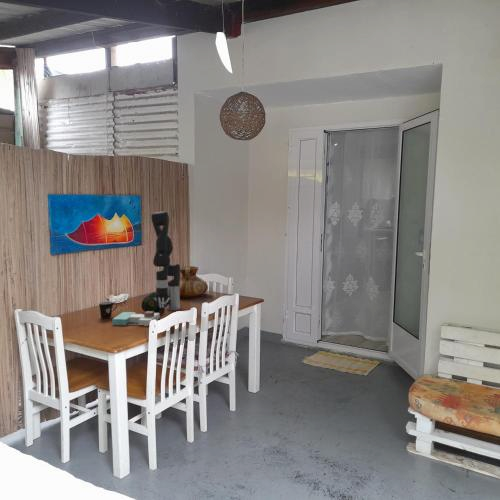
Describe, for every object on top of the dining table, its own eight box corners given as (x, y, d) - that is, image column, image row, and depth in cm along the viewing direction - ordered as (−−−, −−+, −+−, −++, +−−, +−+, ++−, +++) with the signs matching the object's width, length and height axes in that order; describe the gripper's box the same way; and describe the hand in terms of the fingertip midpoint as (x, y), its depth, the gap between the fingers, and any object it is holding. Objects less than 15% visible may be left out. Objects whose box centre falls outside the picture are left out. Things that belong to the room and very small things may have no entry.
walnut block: (146, 314, 295) (146, 311, 294) (154, 315, 294) (154, 311, 294) (144, 316, 290) (144, 313, 289) (151, 317, 289) (151, 313, 289)
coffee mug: (99, 319, 298) (98, 304, 297) (99, 316, 306) (99, 301, 305) (117, 318, 301) (117, 303, 300) (117, 315, 309) (117, 300, 308)
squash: (135, 307, 309) (149, 291, 308) (140, 303, 324) (154, 287, 323) (150, 321, 309) (164, 305, 308) (155, 316, 324) (169, 301, 323)
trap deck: (123, 317, 303) (123, 311, 303) (159, 318, 301) (159, 312, 300) (112, 324, 286) (112, 318, 285) (151, 326, 283) (150, 319, 283)
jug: (166, 294, 378) (165, 264, 375) (199, 290, 392) (199, 262, 389) (178, 301, 352) (177, 269, 349) (213, 297, 366) (213, 267, 363)
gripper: (173, 285, 292) (173, 312, 294) (153, 285, 293) (154, 311, 295) (170, 287, 284) (170, 314, 286) (150, 287, 286) (150, 314, 288)
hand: (162, 313), depth 291 cm, fingers closed
